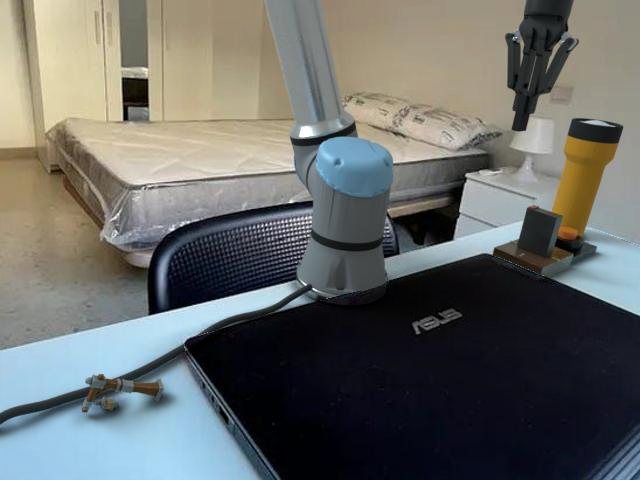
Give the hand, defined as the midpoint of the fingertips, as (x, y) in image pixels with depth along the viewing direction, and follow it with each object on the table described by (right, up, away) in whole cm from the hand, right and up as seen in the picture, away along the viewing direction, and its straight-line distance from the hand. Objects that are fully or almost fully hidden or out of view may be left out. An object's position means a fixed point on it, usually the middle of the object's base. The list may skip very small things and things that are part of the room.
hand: (518, 130), depth 94 cm
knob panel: (+4, -26, +3) cm, 26 cm away
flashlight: (+19, -19, +21) cm, 35 cm away
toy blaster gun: (-59, -39, -40) cm, 81 cm away
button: (+14, -20, +10) cm, 27 cm away
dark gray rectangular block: (+4, -23, +2) cm, 23 cm away
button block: (+14, -23, +11) cm, 29 cm away
